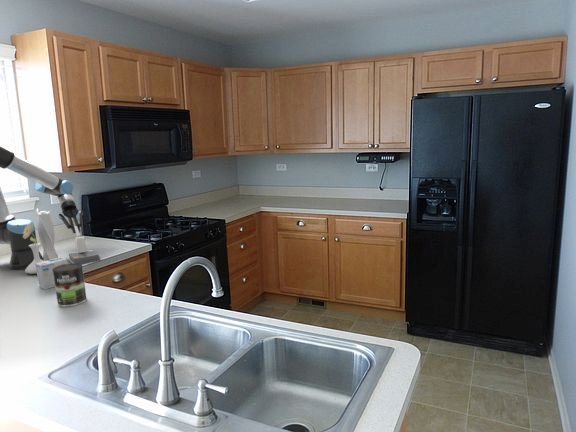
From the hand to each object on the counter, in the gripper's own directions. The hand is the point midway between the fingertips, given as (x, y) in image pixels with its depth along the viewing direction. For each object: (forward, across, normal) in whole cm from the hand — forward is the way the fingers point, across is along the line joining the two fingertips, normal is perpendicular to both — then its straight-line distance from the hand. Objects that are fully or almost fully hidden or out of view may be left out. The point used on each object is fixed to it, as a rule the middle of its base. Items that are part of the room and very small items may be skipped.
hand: (78, 237), depth 238 cm
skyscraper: (+8, +15, -6) cm, 18 cm away
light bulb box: (+41, +21, +28) cm, 54 cm away
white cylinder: (+12, +1, +3) cm, 12 cm away
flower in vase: (+23, +24, +9) cm, 34 cm away
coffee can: (+61, +20, +49) cm, 81 cm away
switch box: (+17, +2, +4) cm, 18 cm away
